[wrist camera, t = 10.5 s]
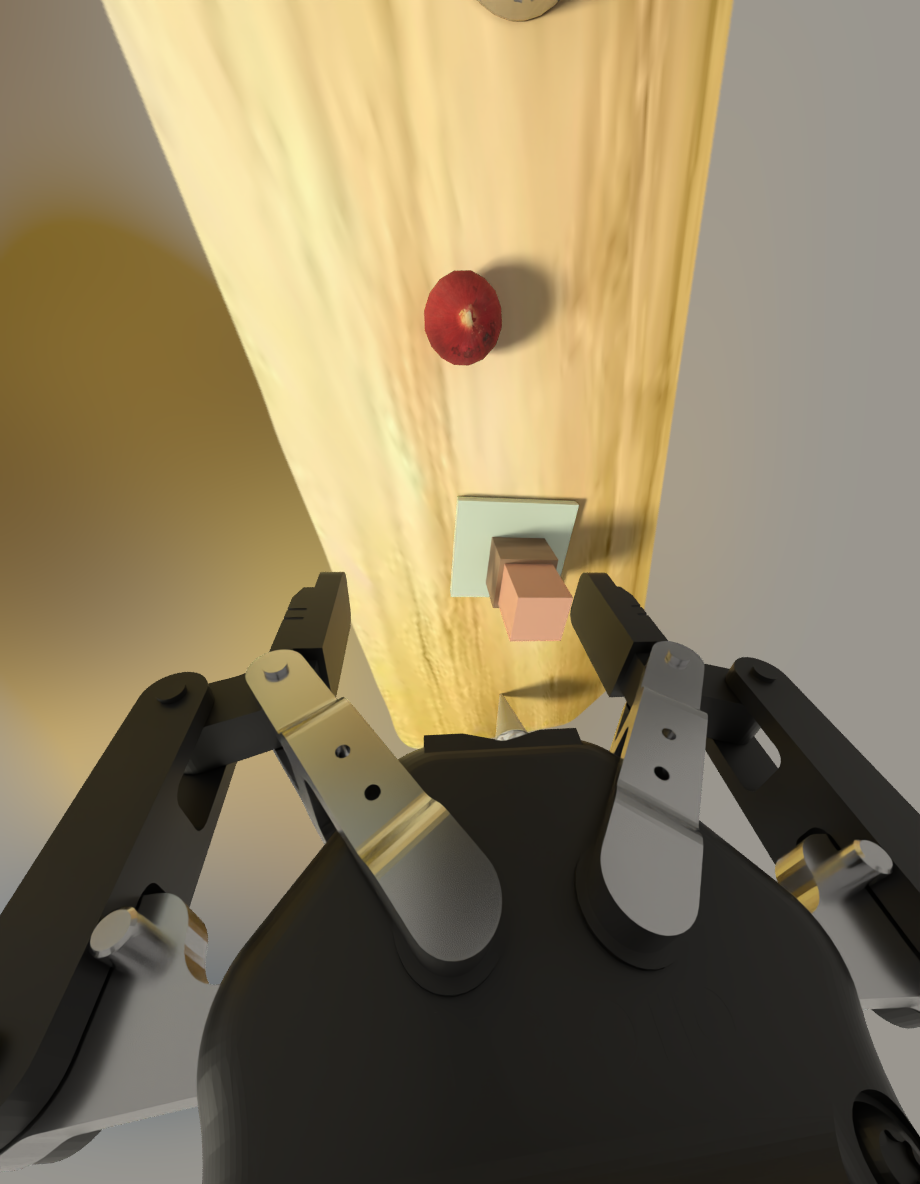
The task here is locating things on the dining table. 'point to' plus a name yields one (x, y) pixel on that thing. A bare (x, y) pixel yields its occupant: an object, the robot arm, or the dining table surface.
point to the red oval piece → (463, 317)
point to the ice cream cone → (507, 722)
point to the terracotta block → (534, 602)
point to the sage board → (503, 534)
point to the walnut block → (514, 559)
